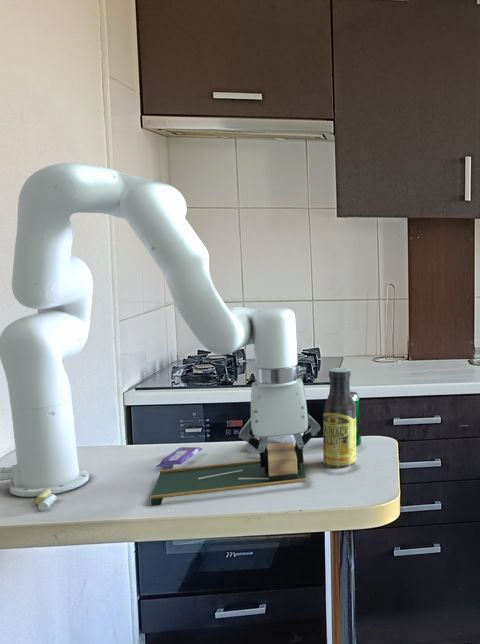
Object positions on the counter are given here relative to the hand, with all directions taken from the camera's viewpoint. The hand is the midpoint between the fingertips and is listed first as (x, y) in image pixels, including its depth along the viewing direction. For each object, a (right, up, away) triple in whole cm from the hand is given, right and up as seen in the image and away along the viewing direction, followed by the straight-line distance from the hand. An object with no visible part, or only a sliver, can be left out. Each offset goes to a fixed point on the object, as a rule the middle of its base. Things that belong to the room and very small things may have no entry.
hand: (282, 467), depth 141 cm
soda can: (+9, +1, +17) cm, 19 cm away
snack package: (-23, -1, +10) cm, 25 cm away
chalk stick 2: (-36, -3, -13) cm, 39 cm away
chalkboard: (-9, -2, -2) cm, 9 cm away
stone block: (-7, +1, +17) cm, 18 cm away
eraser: (0, -1, 0) cm, 1 cm away
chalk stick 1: (-39, -3, -11) cm, 40 cm away
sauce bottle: (+10, -1, +5) cm, 11 cm away
